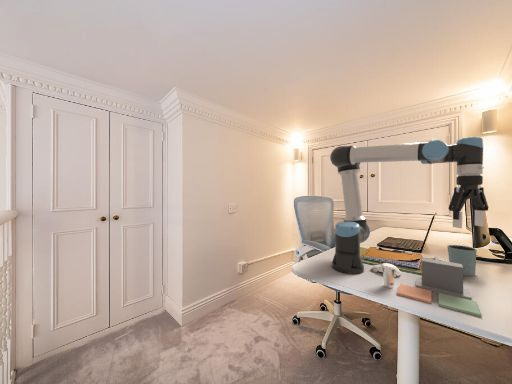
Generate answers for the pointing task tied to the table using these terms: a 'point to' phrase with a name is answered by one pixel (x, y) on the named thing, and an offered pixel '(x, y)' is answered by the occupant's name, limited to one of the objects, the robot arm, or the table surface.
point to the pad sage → (459, 304)
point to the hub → (443, 278)
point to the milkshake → (388, 275)
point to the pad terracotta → (415, 293)
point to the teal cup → (463, 258)
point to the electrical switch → (435, 258)
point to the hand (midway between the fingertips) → (468, 226)
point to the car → (379, 268)
